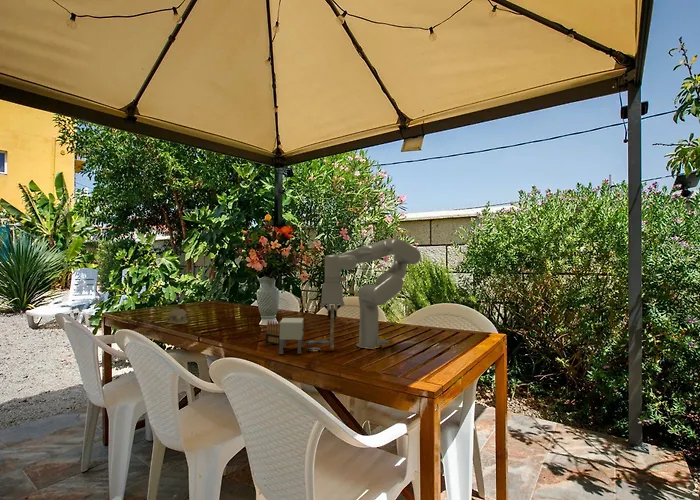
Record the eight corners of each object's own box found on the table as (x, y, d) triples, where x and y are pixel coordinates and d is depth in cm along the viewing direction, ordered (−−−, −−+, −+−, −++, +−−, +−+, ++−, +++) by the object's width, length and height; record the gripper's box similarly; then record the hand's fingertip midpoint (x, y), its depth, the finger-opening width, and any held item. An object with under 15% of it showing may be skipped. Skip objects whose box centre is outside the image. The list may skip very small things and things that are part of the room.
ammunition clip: (265, 343, 196) (265, 320, 196) (267, 342, 197) (268, 319, 198) (281, 346, 190) (281, 322, 190) (283, 345, 192) (284, 321, 192)
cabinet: (304, 348, 187) (305, 318, 187) (303, 354, 174) (303, 322, 175) (282, 347, 187) (283, 317, 187) (279, 354, 174) (279, 322, 174)
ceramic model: (191, 321, 256) (191, 306, 256) (184, 324, 245) (184, 309, 245) (170, 321, 256) (171, 306, 256) (162, 324, 244) (163, 308, 245)
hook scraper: (333, 346, 184) (333, 304, 185) (333, 348, 179) (334, 306, 180) (306, 346, 183) (307, 305, 184) (306, 348, 178) (306, 306, 179)
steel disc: (320, 350, 184) (320, 347, 184) (319, 353, 179) (319, 350, 179) (309, 350, 183) (309, 347, 183) (309, 353, 178) (309, 350, 178)
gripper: (348, 279, 186) (348, 317, 186) (316, 279, 185) (316, 317, 185) (349, 281, 179) (348, 319, 179) (315, 281, 178) (315, 320, 178)
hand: (332, 318), depth 182 cm, fingers closed on hook scraper, 1 cm apart
